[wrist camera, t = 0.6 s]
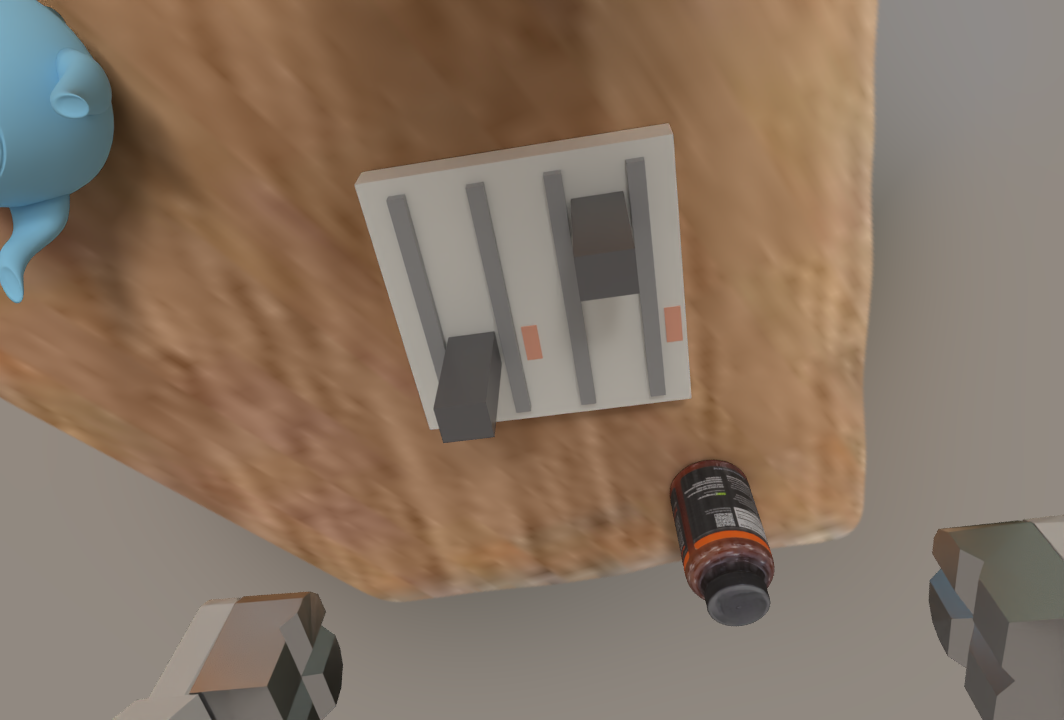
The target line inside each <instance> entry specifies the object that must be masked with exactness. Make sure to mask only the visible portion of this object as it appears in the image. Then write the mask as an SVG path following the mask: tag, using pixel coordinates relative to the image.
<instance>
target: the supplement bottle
mask: <svg viewBox="0 0 1064 720" xmlns="http://www.w3.org/2000/svg"><path fill="white" fill-rule="evenodd" d="M670 499H671V506H672V511H673V516H674V521H675V527H676V531H677V536H678V541H679V546H680V551H681V557H682V562H683V566H684V571H685V576H686V579H687V582H688V584H689V586H690V588H691V589H692V590H693V592H695V593H696V594H697V595H698V596H699V597H700V598H702V599H704V600H705V601H706V604H707V610H708V612H709V614H710V616H711V617H712V618H713V619H714V620H716V621H717V622H719V623H721V624H724V625H728V626H743V625H748V624H751V623H754V622H756V621H757V620H759V619H760V618H762V617H763V616H764V615H765V614H766V613H767V611H768V610H769V607H770V598H769V594H768V592H767V588H768V587H769V585H770V583H771V581H772V579H773V576H774V562H773V558H772V554H771V551H770V548H769V545H768V542H767V539H766V536H765V532H764V529H763V526H762V523H761V520H760V517H759V514H758V511H757V508H756V505H755V502H754V499H753V496H752V493H751V489H750V486H749V484H748V481H747V478H746V476H745V475H744V473H743V472H742V471H741V470H740V469H739V468H737V467H736V466H734V465H733V464H730V463H728V462H725V461H720V460H706V461H701V462H697V463H694V464H692V465H690V466H688V467H686V468H685V469H683V470H682V471H681V472H680V473H679V474H678V475H677V476H676V477H675V479H674V480H673V482H672V484H671V488H670Z"/></svg>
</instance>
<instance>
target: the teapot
mask: <svg viewBox="0 0 1064 720" xmlns="http://www.w3.org/2000/svg"><path fill="white" fill-rule="evenodd" d="M111 100H112V91H111V86H110V83H109V80H108V78H107V76H106V74H105V72H104V70H103V69H102V67H101V66H100V65H99V63H97V62H96V61H95V60H94V59H93V57H92V56H91V55H90V53H89V52H88V50H87V49H86V47H85V46H84V44H83V43H82V42H81V41H80V39H79V38H78V37H77V36H76V35H75V33H74V32H73V31H72V30H71V29H70V28H69V27H68V26H67V25H66V23H65V21H64V19H63V18H62V17H61V15H60V14H59V13H58V12H56V11H55V10H54V9H52V8H50V7H47V6H44V5H42V4H41V3H39V2H38V1H36V0H0V207H10V211H11V214H12V218H13V233H12V236H11V238H10V239H9V240H8V241H7V242H6V244H5V245H4V246H3V248H2V249H1V251H0V283H1V285H2V287H3V289H4V291H5V293H6V295H7V296H8V297H9V298H10V299H11V300H12V301H13V302H15V303H20V302H21V301H22V299H23V295H24V287H23V275H24V271H25V268H26V266H27V264H28V263H29V261H30V259H31V258H32V257H33V256H34V255H35V254H36V253H38V252H39V251H40V250H41V249H43V248H44V247H45V246H46V245H48V244H49V243H50V242H51V241H53V240H54V239H55V238H56V237H57V236H58V235H59V234H60V232H61V231H62V230H63V229H64V227H65V225H66V223H67V221H68V216H69V209H70V194H71V193H73V192H75V191H77V190H78V189H80V188H81V187H83V186H84V185H86V184H87V183H89V182H90V181H91V180H92V179H93V178H94V177H95V176H96V175H97V174H98V173H99V172H100V170H101V169H102V167H103V166H104V164H105V162H106V160H107V158H108V156H109V152H110V149H111V145H112V142H113V134H114V115H113V109H112V103H111Z"/></svg>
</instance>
